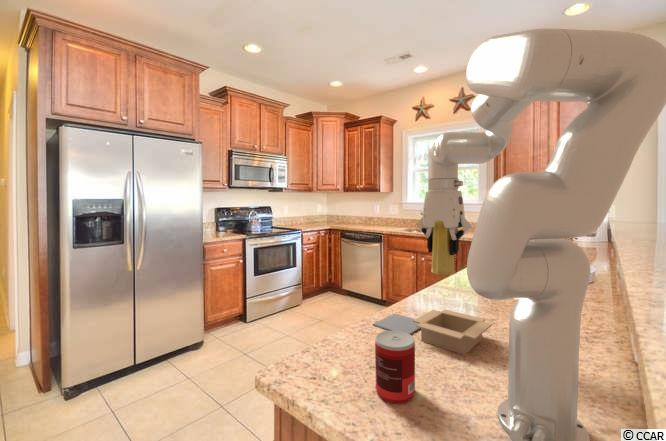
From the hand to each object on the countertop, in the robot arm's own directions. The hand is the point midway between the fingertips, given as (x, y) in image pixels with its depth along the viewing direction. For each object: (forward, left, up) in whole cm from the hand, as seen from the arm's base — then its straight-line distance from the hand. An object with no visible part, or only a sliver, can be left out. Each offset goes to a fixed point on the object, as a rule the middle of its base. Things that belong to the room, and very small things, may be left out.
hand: (442, 252), depth 86 cm
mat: (0, +13, -24) cm, 27 cm away
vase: (0, 0, -6) cm, 6 cm away
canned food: (-30, -5, -24) cm, 39 cm away
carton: (0, -3, -24) cm, 24 cm away
